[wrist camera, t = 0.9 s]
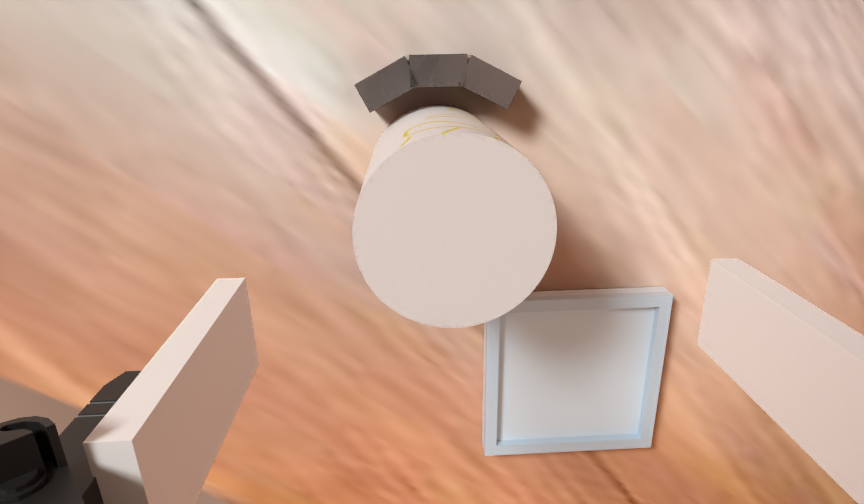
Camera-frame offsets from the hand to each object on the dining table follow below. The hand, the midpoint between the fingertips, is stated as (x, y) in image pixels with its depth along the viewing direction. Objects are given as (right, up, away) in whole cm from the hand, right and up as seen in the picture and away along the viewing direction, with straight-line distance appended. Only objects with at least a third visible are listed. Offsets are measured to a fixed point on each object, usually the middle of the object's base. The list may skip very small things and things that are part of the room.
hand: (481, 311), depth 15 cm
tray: (+8, -6, +22) cm, 25 cm away
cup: (-1, +6, +18) cm, 19 cm away
